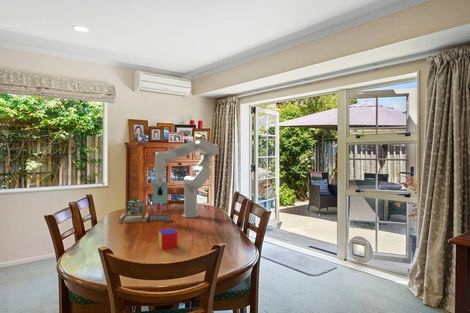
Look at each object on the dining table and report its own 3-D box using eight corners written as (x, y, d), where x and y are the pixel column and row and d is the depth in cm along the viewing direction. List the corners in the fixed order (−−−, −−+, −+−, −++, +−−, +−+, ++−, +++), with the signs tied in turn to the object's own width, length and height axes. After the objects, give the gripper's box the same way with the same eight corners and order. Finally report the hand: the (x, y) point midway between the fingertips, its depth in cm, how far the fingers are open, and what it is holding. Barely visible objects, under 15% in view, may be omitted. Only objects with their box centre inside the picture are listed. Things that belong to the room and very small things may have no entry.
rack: (123, 219, 229) (123, 213, 229) (148, 218, 232) (148, 212, 232) (119, 224, 213) (119, 218, 213) (146, 223, 217) (146, 217, 217)
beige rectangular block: (125, 220, 220) (125, 216, 220) (142, 220, 222) (142, 215, 222) (123, 222, 214) (123, 217, 214) (142, 221, 217) (142, 217, 217)
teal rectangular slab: (152, 203, 224) (153, 182, 224) (167, 202, 226) (167, 181, 226) (152, 203, 222) (152, 182, 222) (167, 203, 224) (167, 182, 224)
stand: (150, 220, 227) (150, 214, 227) (170, 219, 229) (170, 214, 229) (149, 222, 219) (149, 217, 219) (170, 222, 222) (170, 216, 222)
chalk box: (143, 215, 244) (144, 196, 243) (134, 217, 236) (134, 197, 236) (135, 214, 249) (136, 195, 248) (126, 216, 241) (126, 196, 241)
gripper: (155, 168, 231) (155, 193, 231) (154, 169, 215) (153, 196, 215) (166, 168, 232) (165, 193, 232) (165, 170, 216) (165, 196, 217)
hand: (160, 194), depth 224 cm, fingers closed on teal rectangular slab, 2 cm apart
